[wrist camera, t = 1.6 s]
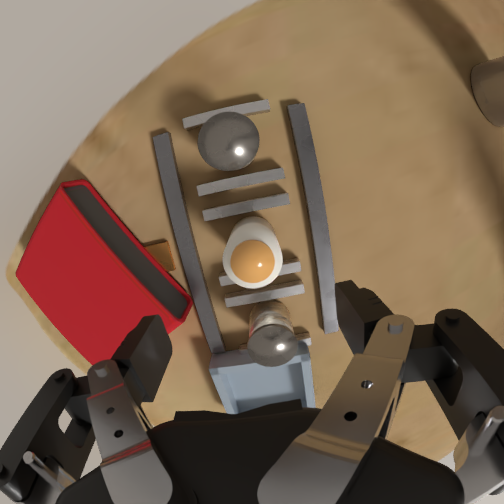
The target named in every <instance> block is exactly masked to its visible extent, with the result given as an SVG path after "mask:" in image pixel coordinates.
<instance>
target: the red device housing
mask: <svg viewBox="0 0 504 504" xmlns="http://www.w3.org/2000/svg"><path fill="white" fill-rule="evenodd" d="M16 277H17V278H18V280H19V281H20V283H21V284H22V285H23V287H24V288H25V289H26V291H27V292H28V294H29V295H30V296H31V298H32V299H33V300H34V301H35V303H36V304H37V305H38V307H39V308H40V309H41V310H42V312H43V313H44V314H45V315H46V316H47V318H48V319H49V320H50V321H51V322H52V323H53V325H54V326H55V327H56V328H57V329H58V330H59V331H60V333H61V334H62V335H63V336H64V337H65V338H66V339H67V340H68V341H69V342H70V343H71V344H72V345H73V346H74V347H75V349H76V350H77V351H78V352H79V353H80V354H81V355H82V356H83V357H84V358H85V359H86V360H88V361H89V362H90V363H91V364H92V365H94V364H95V363H97V362H99V361H102V360H106V359H111V357H112V356H113V354H114V353H115V351H116V350H117V348H118V347H119V346H120V344H121V343H122V341H124V338H125V337H126V335H127V334H128V333H129V332H130V331H131V330H133V329H134V328H135V327H136V326H137V325H138V323H139V322H140V320H141V319H142V317H144V316H150V315H157V314H158V315H160V316H161V318H162V320H163V323H164V326H165V328H166V331H167V333H168V334H169V333H170V332H172V331H173V330H174V329H176V328H177V327H178V326H179V325H181V324H182V323H183V322H184V321H185V319H186V317H187V315H188V313H189V311H190V309H191V307H192V305H193V301H192V298H191V297H190V296H189V295H188V294H187V293H186V292H185V291H184V289H183V288H182V287H181V286H180V285H179V284H178V283H177V282H176V281H175V280H174V279H173V278H172V277H171V276H170V275H169V274H168V273H167V272H166V271H165V270H164V269H163V268H162V267H161V266H160V264H159V263H158V262H157V261H156V260H155V259H154V258H153V257H152V256H151V255H150V254H149V253H148V251H147V250H146V249H145V248H144V247H143V246H142V245H141V244H140V243H139V241H138V240H137V239H136V238H135V237H134V236H133V235H132V233H131V232H130V231H129V230H128V229H127V228H126V227H125V225H124V224H123V223H122V222H121V221H120V220H119V218H118V217H117V216H116V215H115V214H114V213H113V211H112V210H111V209H110V208H109V207H108V205H107V204H106V203H105V202H104V200H103V199H102V198H101V197H100V195H99V194H98V193H97V192H96V191H95V189H94V188H93V187H92V185H91V184H90V183H89V182H88V181H86V180H84V179H81V180H74V181H68V182H62V183H61V184H60V186H59V188H58V189H57V191H56V193H55V194H54V196H53V198H52V199H51V201H50V203H49V204H48V206H47V208H46V210H45V212H44V213H43V215H42V217H41V219H40V221H39V223H38V225H37V227H36V229H35V231H34V233H33V235H32V237H31V239H30V241H29V243H28V245H27V247H26V249H25V252H24V254H23V256H22V258H21V261H20V263H19V266H18V268H17V270H16Z"/></svg>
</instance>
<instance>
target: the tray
mask: <svg viewBox="0 0 504 504" xmlns="http://www.w3.org/2000/svg"><path fill="white" fill-rule="evenodd" d="M209 371H210V374H211V376H212V379H213V381H214V384H215V386H216V389H217V391H218V393H219V396H220V398H221V401H222V403H223V405H224V408H225V410H226V412H227V413H228V414H238V413H241V412H245V411H248V410H251V409H255V408H258V407H261V406H264V405H267V404H272V403H278V402H284V401H290V400H295V399H301V403H302V407H310V408H315V398H314V388H313V379H312V370H311V362H310V353H309V350H308V346H307V344H303V345H298V349H297V352H296V354H295V356H294V357H293V358H292V359H291V360H290V361H289V362H287V363H286V364H283V365H281V366H277V367H266V366H262V365H259V364H257V363H256V362H254V361H253V360H252V359H251V357H250V356H249V354H246V355H240V352H239V350H232V351H225V352H220V353H212V356H211V360H210V365H209Z"/></svg>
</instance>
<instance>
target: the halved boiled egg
mask: <svg viewBox="0 0 504 504" xmlns="http://www.w3.org/2000/svg"><path fill="white" fill-rule="evenodd" d="M282 263H283V258H282V252H281V249H280V246H279V243H278V240H277V237H276V234H275V231H274V229H273V227H272V225H271V224H270V223H269V222H268V221H266V220H265V219H263V218H261V217H256V216H250V217H246V218H243V219H241V220H240V221H239V222H237V223H236V225H235V226H234V228H233V229H232V232H231V235H230V237H229V240H228V242H227V245H226V248H225V250H224V253H223V266H224V270H225V272H226V274H227V275H228V277H229V278H230V279H231V280H232V281H233V282H235V283H236V284H238V285H240V286H242V287H245V288H260V287H263V286H266V285H268V284H269V283H271V282H272V281H273V280H274V279H275V278H276V277H277V276H278V274H279V273H280V270H281V268H282Z"/></svg>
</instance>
